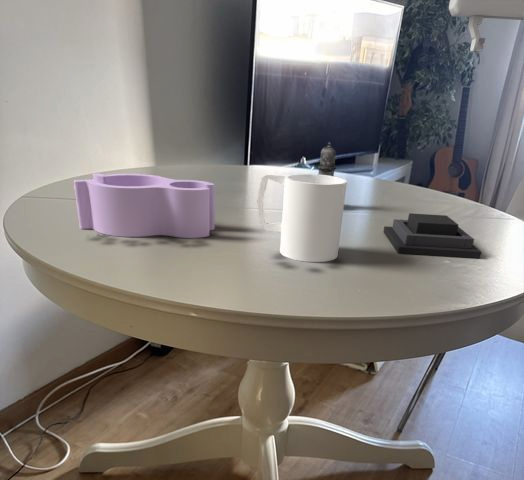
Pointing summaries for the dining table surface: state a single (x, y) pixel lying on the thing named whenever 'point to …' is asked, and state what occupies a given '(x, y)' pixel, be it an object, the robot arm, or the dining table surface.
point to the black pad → (432, 224)
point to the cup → (307, 215)
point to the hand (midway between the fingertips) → (505, 53)
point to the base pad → (430, 242)
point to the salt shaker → (327, 161)
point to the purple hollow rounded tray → (145, 205)
